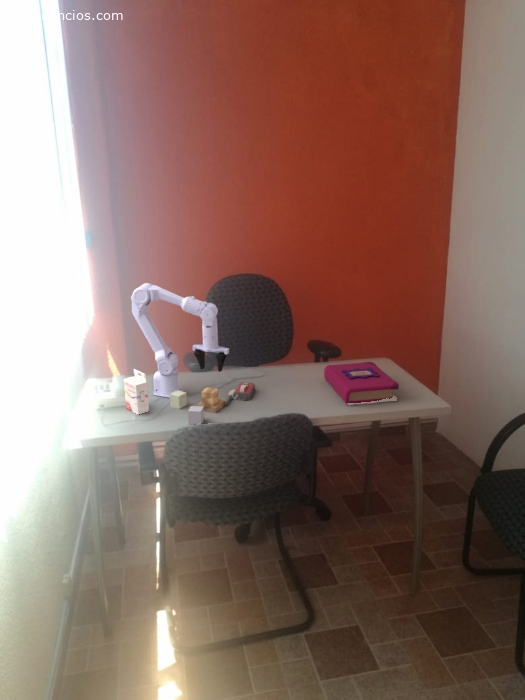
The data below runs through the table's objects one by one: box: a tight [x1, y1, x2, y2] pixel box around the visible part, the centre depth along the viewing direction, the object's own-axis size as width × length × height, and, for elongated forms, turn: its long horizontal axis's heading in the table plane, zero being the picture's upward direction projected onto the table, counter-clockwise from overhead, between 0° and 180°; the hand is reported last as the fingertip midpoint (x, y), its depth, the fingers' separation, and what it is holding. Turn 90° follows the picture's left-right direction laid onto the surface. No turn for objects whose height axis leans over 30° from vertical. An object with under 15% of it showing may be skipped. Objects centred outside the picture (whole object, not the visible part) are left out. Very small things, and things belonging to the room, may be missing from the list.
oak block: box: [200, 387, 219, 406], centre depth 203 cm, size 4×4×5 cm
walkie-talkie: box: [224, 382, 256, 406], centre depth 214 cm, size 9×4×20 cm
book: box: [323, 361, 400, 405], centre depth 219 cm, size 21×28×8 cm
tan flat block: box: [195, 398, 226, 414], centre depth 205 cm, size 8×8×2 cm
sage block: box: [168, 390, 188, 410], centre depth 206 cm, size 4×4×5 cm
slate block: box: [187, 405, 205, 425], centre depth 193 cm, size 4×4×5 cm
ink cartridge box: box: [123, 368, 150, 416], centre depth 201 cm, size 9×5×15 cm, turn 44°
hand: (211, 369), depth 213 cm, fingers open, 7 cm apart
